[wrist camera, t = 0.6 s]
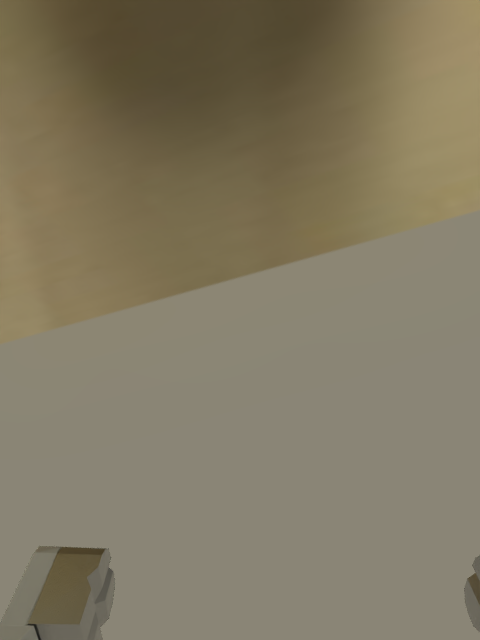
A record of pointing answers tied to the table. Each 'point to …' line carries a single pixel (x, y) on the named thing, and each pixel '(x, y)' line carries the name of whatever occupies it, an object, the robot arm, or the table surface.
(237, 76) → the table surface
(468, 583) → the robot arm
